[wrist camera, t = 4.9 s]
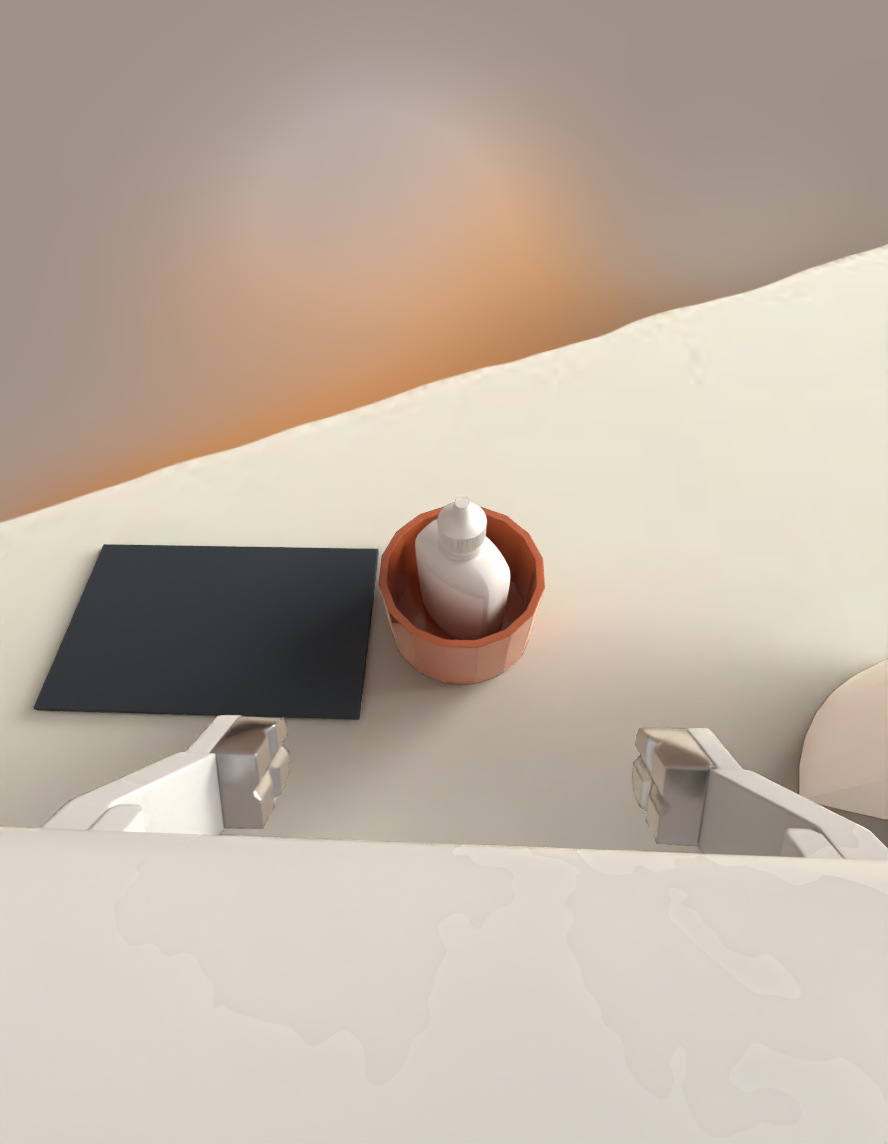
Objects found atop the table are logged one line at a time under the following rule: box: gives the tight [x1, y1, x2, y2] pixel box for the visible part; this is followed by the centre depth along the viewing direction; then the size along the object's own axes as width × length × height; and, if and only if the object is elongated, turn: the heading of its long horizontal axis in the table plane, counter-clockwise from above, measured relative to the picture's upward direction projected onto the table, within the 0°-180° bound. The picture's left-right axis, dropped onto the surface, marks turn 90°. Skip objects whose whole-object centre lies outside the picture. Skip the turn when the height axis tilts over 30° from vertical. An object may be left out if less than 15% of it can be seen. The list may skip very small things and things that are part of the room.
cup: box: [379, 506, 545, 684], centre depth 33 cm, size 9×9×6 cm
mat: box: [34, 545, 379, 720], centre depth 35 cm, size 20×12×1 cm, turn 88°
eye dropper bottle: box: [415, 496, 510, 640], centre depth 30 cm, size 4×6×12 cm
